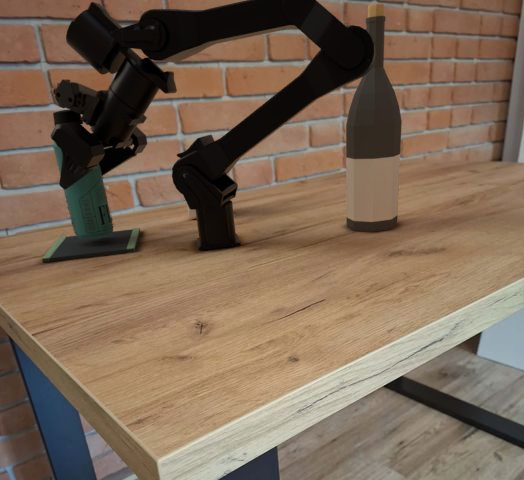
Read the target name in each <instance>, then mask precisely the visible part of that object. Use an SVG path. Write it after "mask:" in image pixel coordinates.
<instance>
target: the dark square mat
mask: <svg viewBox="0 0 524 480" xmlns="http://www.w3.org/2000/svg"><path fill="white" fill-rule="evenodd" d="M140 234H141V227H137V228H132V229H123V230H115V231H114V230H113V232H112V233H110V234H107V235H103V236H98V237H92V238H79V237H77V236H76V235H69V236H66V235H65V236H60V237H59V238H58V239H57V240H56V241H55V242H54V244H53V245H51V247H50V248H49V250H47V252H46V253H45V254H44V255H43V256H42V258H41V260H42V263H51V262H59V261H67V260H68V261H69V260H77V259H78V260H79V259H85V258H86V259H87V258H95V257H103V256H110V255H111V256H112V255H121V254H128V253H129V254H130V253H135V252H136V249H137V246H138V242H139V238H140Z"/></svg>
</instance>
